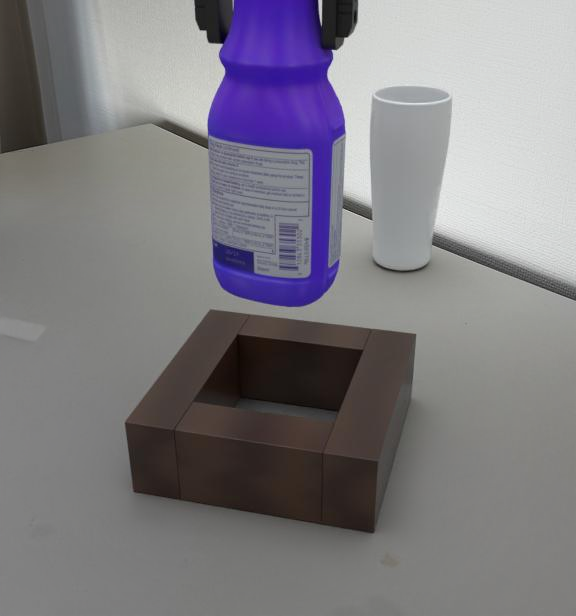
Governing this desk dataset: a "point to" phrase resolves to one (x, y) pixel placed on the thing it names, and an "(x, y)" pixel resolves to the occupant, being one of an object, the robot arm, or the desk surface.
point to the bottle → (276, 157)
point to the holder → (276, 418)
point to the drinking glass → (407, 171)
